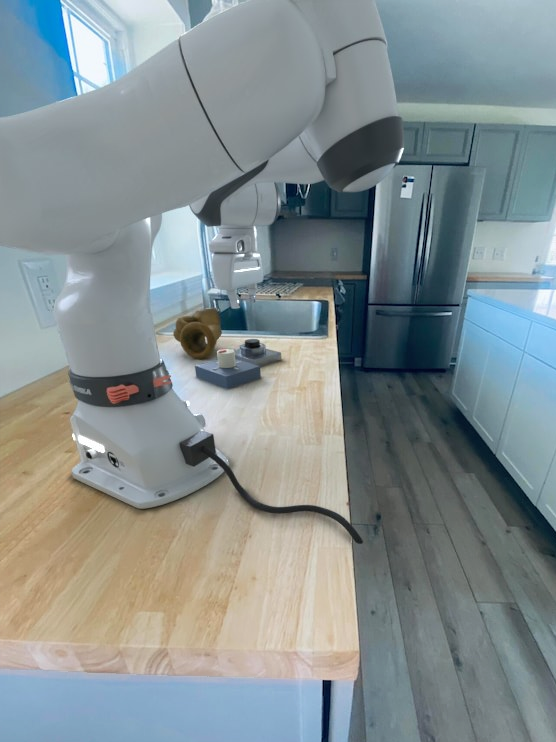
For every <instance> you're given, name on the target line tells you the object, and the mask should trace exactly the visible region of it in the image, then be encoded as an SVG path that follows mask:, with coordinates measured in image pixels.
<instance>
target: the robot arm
mask: <svg viewBox="0 0 556 742" xmlns="http://www.w3.org/2000/svg"><path fill="white" fill-rule="evenodd" d="M378 9H379V8H378V6H377V2H376V0H245V1H242V2H240V3H238V4H236V5H233V6H230V7H229V8H226V9H224V10H222V11H220V12H218V13H216V14H214V15H212V16H210V17H209V18H207V19H205V20H203V21H202V22H200V23H198V24H196V25H195V26H193V27H192V28H191V29H189V30H188V31H186V32H184V33H183V34H181V35H180V36H178V37H177V38H176V39H175V40H173V41H172V42H170V43H168V44H167V45H165V46H164V47H163V48H162V49H160V50H158V51H157V52H155V53H154V54H153V55H151V56H150V57H149V58H147V59H146V60H144V61H143V62H142V63H140V64H138V65H136V67H134V68H133V69H131V70H129V71H128V72H127V73H125V74H124V75H122V76H121V77H119V78H117V79H115V80H114V81H111V82H110V83H107V84H106V85H103V86H101V87H98V88H96V89H93V90H91V91H90V90H89V91H87V92H83V93H82V94H81V93H80V94H79V95H74V96H72V97H67V98H66V99H63V100H59V101H56V102H53V103H50V104H47V105H44V106H40V107H38V108H35V109H31V110H28V111H25V112H21V113H17V114H13V115H12V114H11V115H8V116H1V117H0V246H1V247H3V248H4V247H5V248H8V249H13V250H15V251H16V250H17V251H21V252H26V253H31V254H36V255H42V256H65V258H66V272H65V280H64V283H63V287H62V290H61V292H60V293H59V294H58V296H57V298H56V299H55V301H54V303H53V308H52V314H53V315H52V316H53V320H54V323H55V325H56V329H57V333H58V335H59V338H60V341H61V344H62V348H63V351H64V354H65V357H66V359H67V363H68V366H69V370H68V371H67V375H68V378H69V386H70V388H71V389H72V392H73V395H74V397H75V398H76V400H77V405H76V407H75V410H74V411H73V413H72V415H71V417H70V418H69V422H70V426H71V429H72V430H71V431H72V434H71V435H72V438H73V441H74V442H75V444H76V447H77V452H78V456H79V458H80V461H79V462H78V463H77V464H76V465H75V466H74V467H72V468H71V474H72V478H73V479H74V480H76V481H79V482H81V483H82V484H85V485H87V486H89V487H91V488H93V489H96V490H97V491H100V492H102V493H104V494H106V495H108V496H111V497H113V498H114V499H117V500H118V501H121V502H123V503H125V504H127V505H130V506H132V507H134V508H136V509H139V510H145V509H150V508H155V507H159V506H162V505H165V504H166V505H167V504H168V503H172V502H175V501H177V500H180V499H181V498H184V497H186V496H188V495H190V494H192V493H194V492H196V491H198V490H200V489H202V488H204V487H205V486H207V485H209V484H210V483H212V482H213V481H215V480H216V479H217V478H220V476H221V475H223V474H224V472H225V473H226V476H227V477H228V479H229V480H230V482H231V484H232V486H233V487H234V489H235V490H236V491H237V492H238V493H239V495H240V496H241V498H243V499H244V500H245V501H246V503H247V504H249V505H250V506H252V507H253V508H254V509H257V510H260V511H263V512H266V513H269V514H292V513H299V512H300V513H301V512H311V513H316V514H320V515H322V516H326V517H328V518H330V519H333V520H334V521H336V522H337V523H338V524H339V525H341V526H342V527H343V528H344V529H345V530H346V531H347V533H348V534H349V535H350V537H351V538H352V539H353V540H354V542H355V543H356V544H358V545H362V544H364V540H363V538H362V537H361V535H360V534H359V532H358V531H357V530H356V528H354V526H353V525H352V524H351V523H350V522H349V520H347V519H346V518H345V517H344V516H342V515H341V514H339V512H335V511H333V510H330V509H329V508H325V507H322V506H317V505H312V504H297V505H287V506H272V505H268V504H264V503H262V502H259V501H258V500H256V499H254V497H252V496H251V495H250V494H249V493H248V492H247V491H246V489H244V487H243V486H242V485H241V484H240V482H239V480H238V479H237V477H236V475H235V473H234V471H233V470H232V469H231V466H230V461H229V458H227V457H226V455H224V454H223V453H222V452H221V451H220V450H219V449H218V448H217V447H216V442H215V436H214V433H211V432H208V431H206V430H205V427H206V419H205V416H204V415H203V414H202V413H200V412H199V413H195V414H193V413H192V411H191V410H190V408H189V406H190V401H189V400H184V399H183V400H182V399H181V398H180V397H179V395H178V394H177V393H176V392H175V390H174V389H173V386H174V385H173V381H172V379H171V378H172V376H171V374H170V371H169V369H168V368H167V366H166V364H165V361H164V360H163V359H162V358H161V357H160V351H159V346H158V341H157V340H158V339H157V336H156V330H155V324H154V319H153V314H152V313H153V312H152V304H151V274H152V273H151V272H152V256H153V248H154V247H153V246H154V242H155V240H156V237H157V235H158V234H159V232H160V229H161V226H162V222H163V213H167V212H170V211H173V210H177V209H182V208H185V207H189V209H190V211H191V212H192V214H193V215H194V216H195V217H196V218H197V219H198V220H199V222H201V223H202V224H203V225H205V226H206V227H210V228H211V227H217V234H216V235H215V236H214V237H213V238H212V239H211V240H210V241H209V242H208V250H209V252H210V253H212V255H211V266H212V274H213V279H214V284H215V286H216V288H217V289H218V290H220V291H226V294H227V297H228V299H229V302H230V308H231V309H233V310H238V309H240V308H241V300H239V298H238V289H240V288H245V287H247V289H248V290H247V295H246V300H247V301H246V302H247V303H248V304H254V303H256V301H257V298H256V295H257V290H258V284H260V283H263V282H264V276H265V275H264V267H263V266H264V265H263V260H262V254H261V252H260V251H259V242H258V229H257V227H267V226H272V225H273V224H274V223H275V222H276V220H278V217H279V215H280V213H281V209H282V196H281V190H280V188H279V186H278V184H279V183H280V184H294V185H313V184H316V183H320V182H323V181H324V182H325V183H326V184H327V186H328V187H329V188H330V189H332V190H334V191H336V192H338V193H339V194H344V193H345V194H346V193H359V192H363V191H366V190H369V189H371V188H373V187H375V186H377V185H378V184H379V183H381V182H382V181H383V180H384V179H385V178H386V177H387V176H388V175H389V174H390V173H391V172H392V170H393V169H394V168H396V167H397V166H398V164H399V163H400V160H401V158H402V155H403V153H404V150H405V132H404V122H403V118H402V117H401V116H399V108H398V107H399V106H398V101H397V95H396V88H395V83H394V82H395V81H394V77H393V72H392V67H391V62H390V58H389V53H388V40H387V36H386V34H385V29H384V25H383V23H382V19H381V16H380V12H379V10H378ZM277 183H278V184H277Z"/></svg>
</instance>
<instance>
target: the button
mask: <svg viewBox="0 0 556 742" xmlns="http://www.w3.org/2000/svg"><path fill="white" fill-rule="evenodd" d="M260 343H261V341H260V339H257V338H249V339H248V338H247V339H245V340H244V344H245V347H247V348H257V347H260Z"/></svg>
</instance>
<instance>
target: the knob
mask: <svg viewBox="0 0 556 742" xmlns="http://www.w3.org/2000/svg"><path fill="white" fill-rule="evenodd" d="M216 355H217V360H218V364H219V367H221V368H232V367H235V366H236V361H235V351H234V349H231V348H224V349H223V348H222V349H218V350H217V351H216Z"/></svg>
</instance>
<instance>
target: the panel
mask: <svg viewBox="0 0 556 742" xmlns="http://www.w3.org/2000/svg"><path fill="white" fill-rule="evenodd" d="M235 361H236V366H235V367H232V368H221V367H219V364H218V359H215V360H211V361H206V362H203V363H200V364H196V365H194V369H195V370H194V371H195V375H196V378H197V379H200V380H202V381H205V382H208V383H211V384H212V385H216V386H218V387H220V388H223V389H226V390H229V389H232V388H236V387H238V386H242V385H244V384H248V383H251V382H253V381H256V380H259V379H262V373H261V366H257V365H254V364H251V363H247V362H244V361H241V360H237V359H235Z"/></svg>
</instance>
